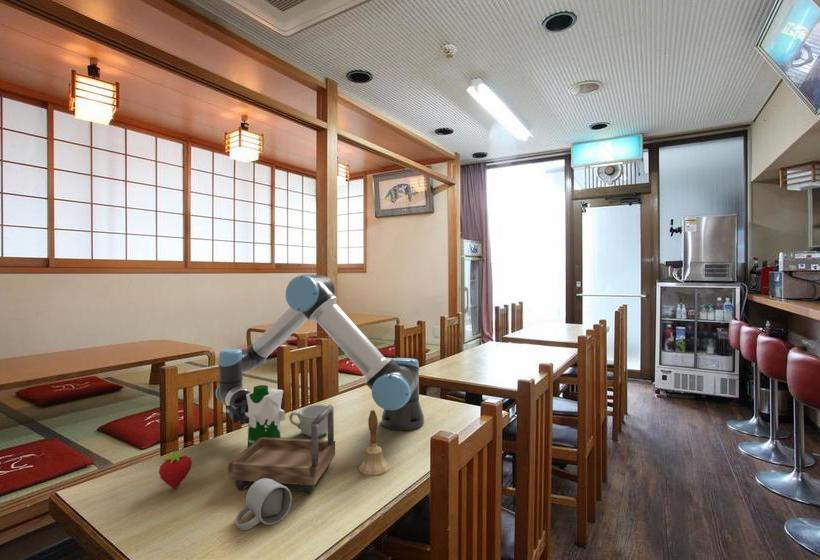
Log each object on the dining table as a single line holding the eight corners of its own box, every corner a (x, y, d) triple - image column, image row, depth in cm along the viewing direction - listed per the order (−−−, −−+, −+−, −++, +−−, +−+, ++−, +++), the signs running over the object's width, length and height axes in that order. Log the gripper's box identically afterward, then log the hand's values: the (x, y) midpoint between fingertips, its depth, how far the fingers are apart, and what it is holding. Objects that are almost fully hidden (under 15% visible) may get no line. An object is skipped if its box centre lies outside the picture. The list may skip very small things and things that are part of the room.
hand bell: (364, 478, 105) (364, 418, 105) (355, 465, 113) (354, 408, 113) (393, 471, 109) (393, 413, 109) (382, 459, 116) (382, 404, 116)
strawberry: (197, 484, 103) (197, 445, 102) (166, 498, 96) (166, 457, 96) (184, 478, 106) (184, 440, 106) (154, 491, 99) (153, 451, 99)
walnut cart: (336, 465, 112) (335, 402, 112) (315, 497, 96) (314, 423, 96) (260, 461, 115) (259, 399, 115) (228, 491, 99) (227, 419, 99)
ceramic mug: (273, 501, 95) (273, 469, 95) (292, 515, 90) (292, 481, 89) (228, 523, 87) (227, 488, 87) (246, 539, 82) (245, 502, 82)
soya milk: (242, 455, 118) (242, 387, 118) (262, 443, 127) (263, 380, 127) (267, 460, 116) (268, 390, 116) (286, 447, 124) (287, 382, 124)
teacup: (336, 428, 140) (336, 405, 140) (326, 441, 129) (326, 416, 129) (297, 426, 141) (297, 403, 141) (284, 439, 130) (284, 414, 130)
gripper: (271, 405, 141) (302, 423, 124) (207, 419, 127) (232, 442, 111) (271, 383, 141) (302, 398, 124) (207, 396, 127) (232, 415, 110)
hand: (269, 419), depth 117 cm, fingers closed on soya milk, 8 cm apart
